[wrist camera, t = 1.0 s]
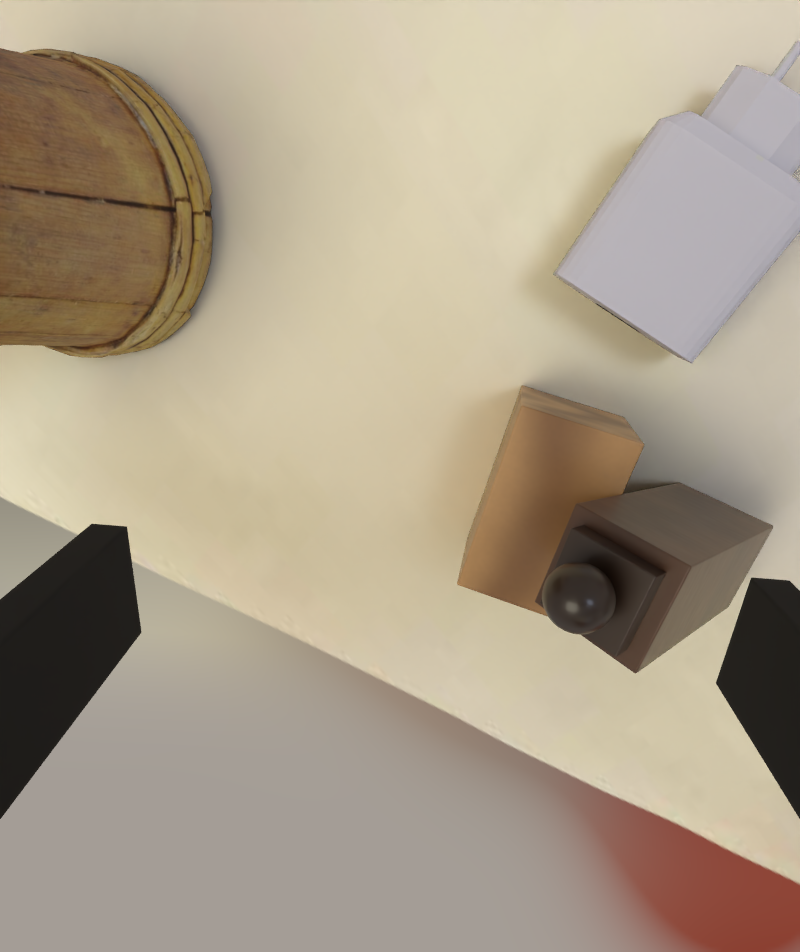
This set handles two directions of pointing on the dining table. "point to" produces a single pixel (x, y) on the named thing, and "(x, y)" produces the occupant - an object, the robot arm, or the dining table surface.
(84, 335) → the tankard
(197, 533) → the dining table surface
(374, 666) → the dining table surface
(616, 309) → the charger
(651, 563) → the pepper mill
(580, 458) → the wooden block
